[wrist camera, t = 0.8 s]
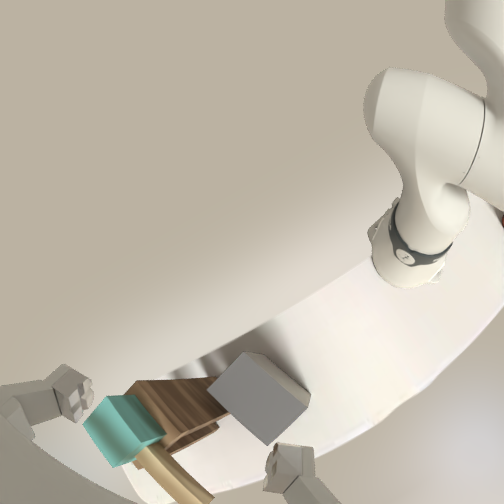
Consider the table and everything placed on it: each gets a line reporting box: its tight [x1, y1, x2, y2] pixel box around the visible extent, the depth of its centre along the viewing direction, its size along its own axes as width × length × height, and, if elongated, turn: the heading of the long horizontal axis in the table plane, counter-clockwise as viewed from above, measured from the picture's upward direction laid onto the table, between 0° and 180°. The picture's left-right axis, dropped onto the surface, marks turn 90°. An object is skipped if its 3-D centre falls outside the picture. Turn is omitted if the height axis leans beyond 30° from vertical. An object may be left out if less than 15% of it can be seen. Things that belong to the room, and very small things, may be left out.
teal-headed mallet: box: [83, 395, 215, 504], centre depth 21 cm, size 6×15×5 cm, turn 47°
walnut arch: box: [124, 377, 230, 470], centre depth 36 cm, size 9×8×26 cm
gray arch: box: [207, 351, 311, 446], centre depth 40 cm, size 8×12×15 cm, turn 47°
